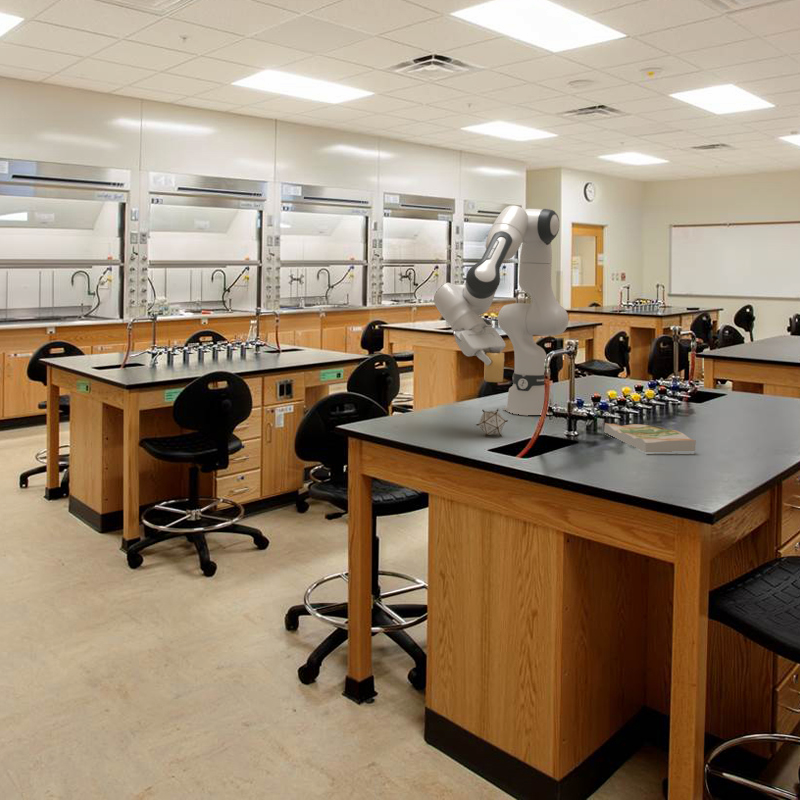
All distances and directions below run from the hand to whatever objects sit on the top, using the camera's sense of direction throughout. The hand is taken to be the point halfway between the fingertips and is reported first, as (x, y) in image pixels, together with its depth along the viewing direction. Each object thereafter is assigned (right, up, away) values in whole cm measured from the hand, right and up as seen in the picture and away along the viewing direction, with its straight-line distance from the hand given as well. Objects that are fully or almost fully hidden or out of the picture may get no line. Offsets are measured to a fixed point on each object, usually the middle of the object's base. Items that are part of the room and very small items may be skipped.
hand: (496, 363), depth 235 cm
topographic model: (+44, -25, -2) cm, 51 cm away
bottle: (-1, -5, +1) cm, 5 cm away
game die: (-1, -22, +4) cm, 22 cm away
